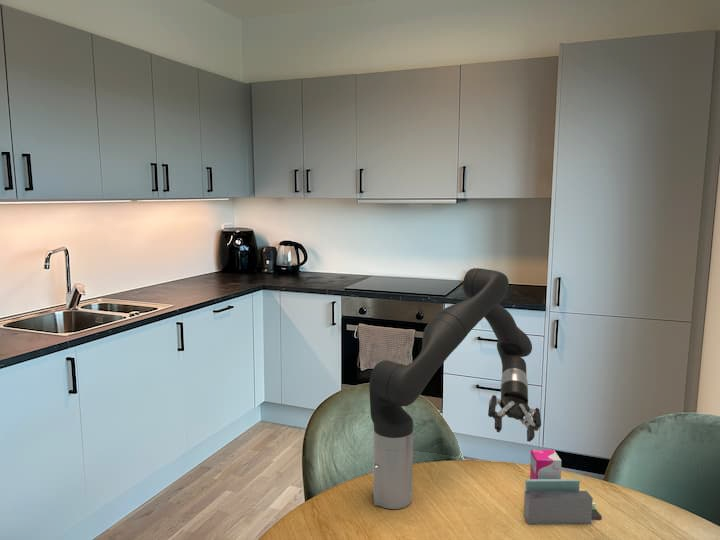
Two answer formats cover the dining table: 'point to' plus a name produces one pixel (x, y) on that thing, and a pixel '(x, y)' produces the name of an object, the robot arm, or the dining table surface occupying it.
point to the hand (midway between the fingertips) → (514, 435)
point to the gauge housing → (559, 507)
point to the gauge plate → (553, 485)
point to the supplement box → (545, 465)
